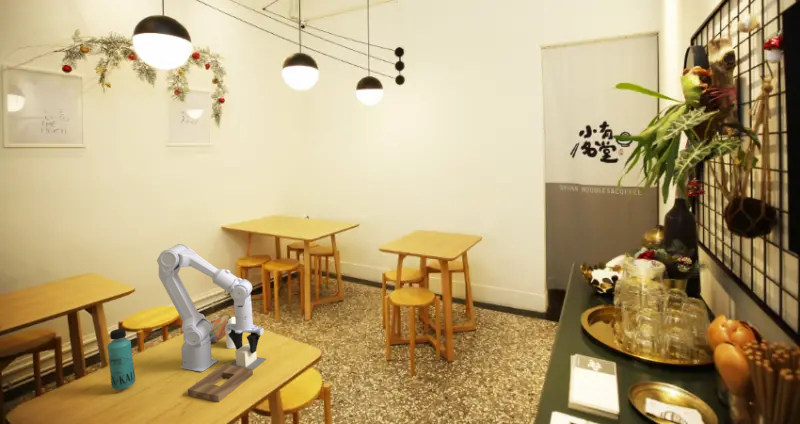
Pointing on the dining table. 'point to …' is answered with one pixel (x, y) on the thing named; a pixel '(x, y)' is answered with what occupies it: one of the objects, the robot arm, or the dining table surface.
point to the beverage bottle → (120, 360)
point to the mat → (253, 364)
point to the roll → (228, 340)
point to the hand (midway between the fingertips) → (246, 350)
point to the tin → (219, 327)
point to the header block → (217, 393)
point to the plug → (245, 356)
